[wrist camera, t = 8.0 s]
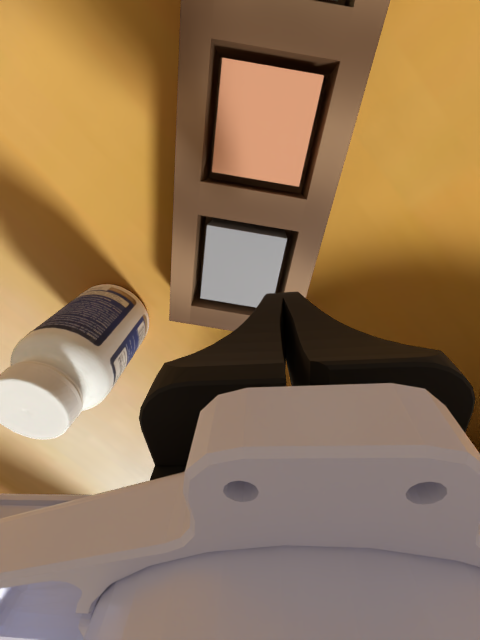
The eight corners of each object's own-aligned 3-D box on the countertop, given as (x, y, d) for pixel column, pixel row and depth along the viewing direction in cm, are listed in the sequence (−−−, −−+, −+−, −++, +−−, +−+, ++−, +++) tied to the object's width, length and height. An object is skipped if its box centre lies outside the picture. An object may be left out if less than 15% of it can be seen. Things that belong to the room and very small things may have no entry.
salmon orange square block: (228, 71, 15) (222, 57, 13) (315, 86, 15) (324, 75, 13) (218, 169, 17) (211, 171, 15) (294, 183, 17) (298, 186, 15)
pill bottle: (65, 299, 22) (-59, 389, 14) (121, 269, 21) (22, 349, 12) (111, 353, 24) (28, 460, 16) (164, 330, 23) (105, 433, 14)
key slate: (213, 217, 18) (206, 225, 16) (284, 229, 18) (287, 238, 16) (206, 283, 20) (200, 298, 18) (270, 293, 20) (271, 310, 18)
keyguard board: (239, -749, 7) (226, -1249, 5) (555, -684, 7) (714, -1143, 5) (180, 300, 21) (169, 320, 19) (289, 318, 22) (293, 340, 19)
